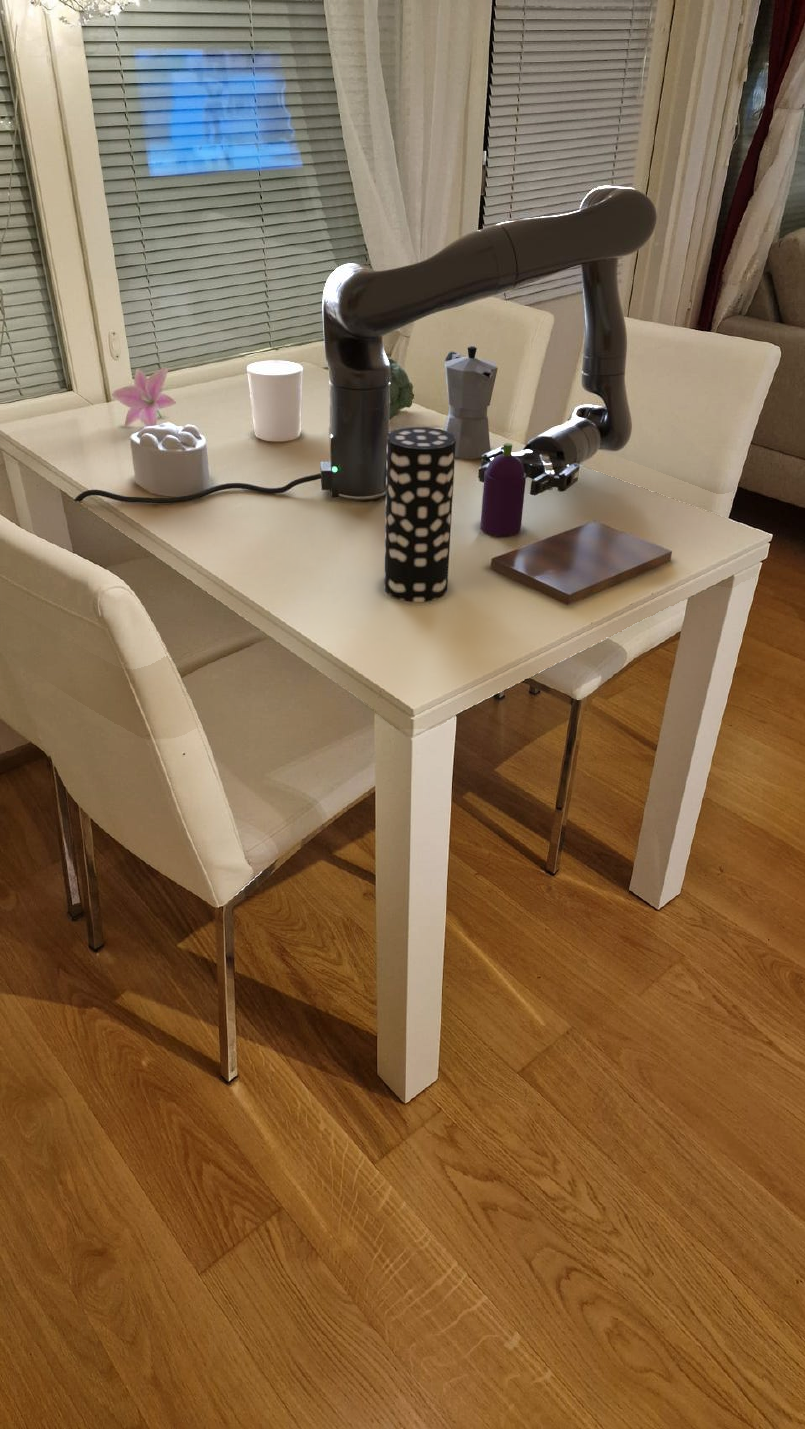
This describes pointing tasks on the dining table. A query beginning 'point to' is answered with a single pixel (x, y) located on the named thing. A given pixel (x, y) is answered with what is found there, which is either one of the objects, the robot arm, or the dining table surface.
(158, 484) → the lumpy-topped squat cylinder
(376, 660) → the dining table surface
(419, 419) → the dining table surface
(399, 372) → the vegetable
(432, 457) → the spotted tube
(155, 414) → the lily
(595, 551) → the cutting board
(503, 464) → the eggplant
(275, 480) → the dining table surface
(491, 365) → the coffeepot
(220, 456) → the dining table surface
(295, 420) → the candle holder
